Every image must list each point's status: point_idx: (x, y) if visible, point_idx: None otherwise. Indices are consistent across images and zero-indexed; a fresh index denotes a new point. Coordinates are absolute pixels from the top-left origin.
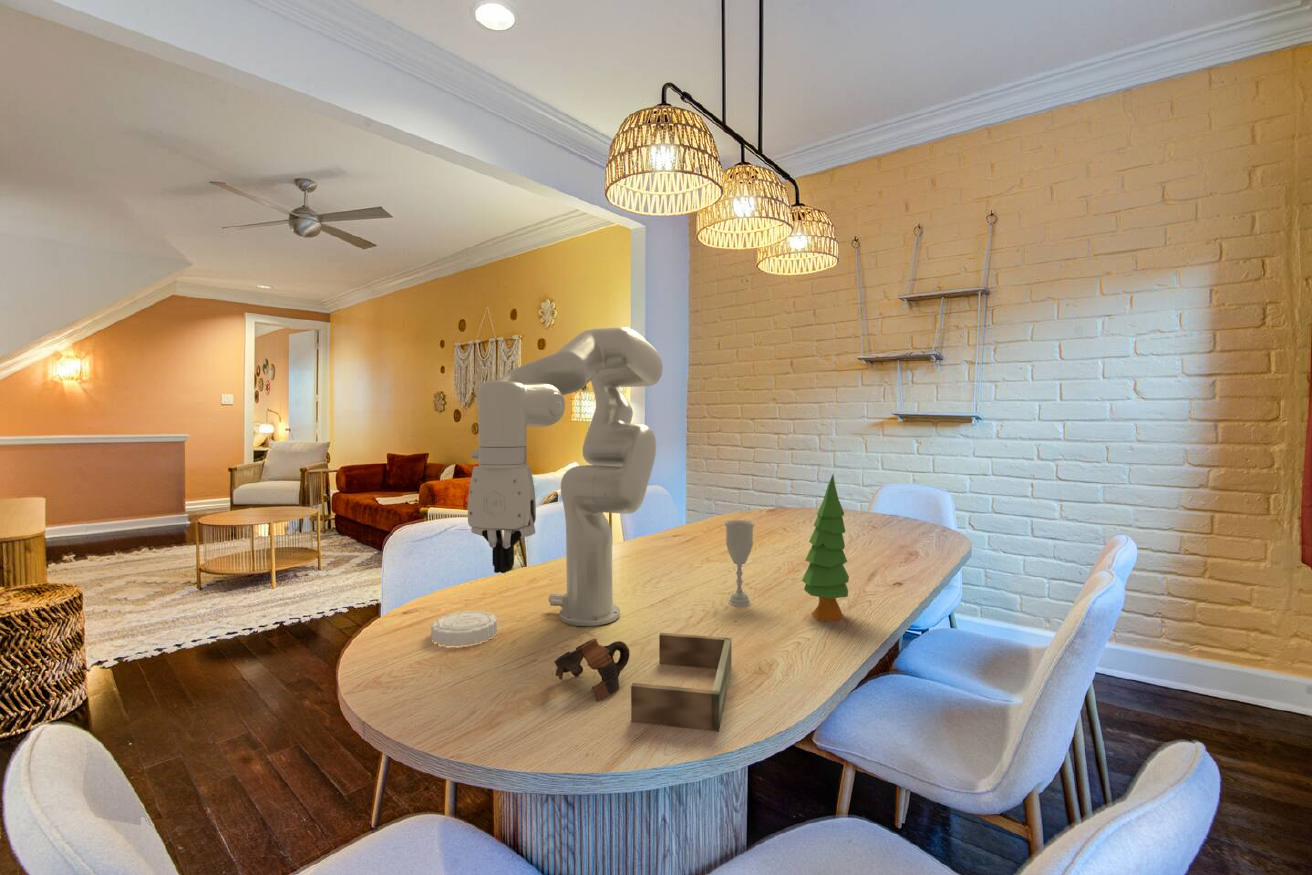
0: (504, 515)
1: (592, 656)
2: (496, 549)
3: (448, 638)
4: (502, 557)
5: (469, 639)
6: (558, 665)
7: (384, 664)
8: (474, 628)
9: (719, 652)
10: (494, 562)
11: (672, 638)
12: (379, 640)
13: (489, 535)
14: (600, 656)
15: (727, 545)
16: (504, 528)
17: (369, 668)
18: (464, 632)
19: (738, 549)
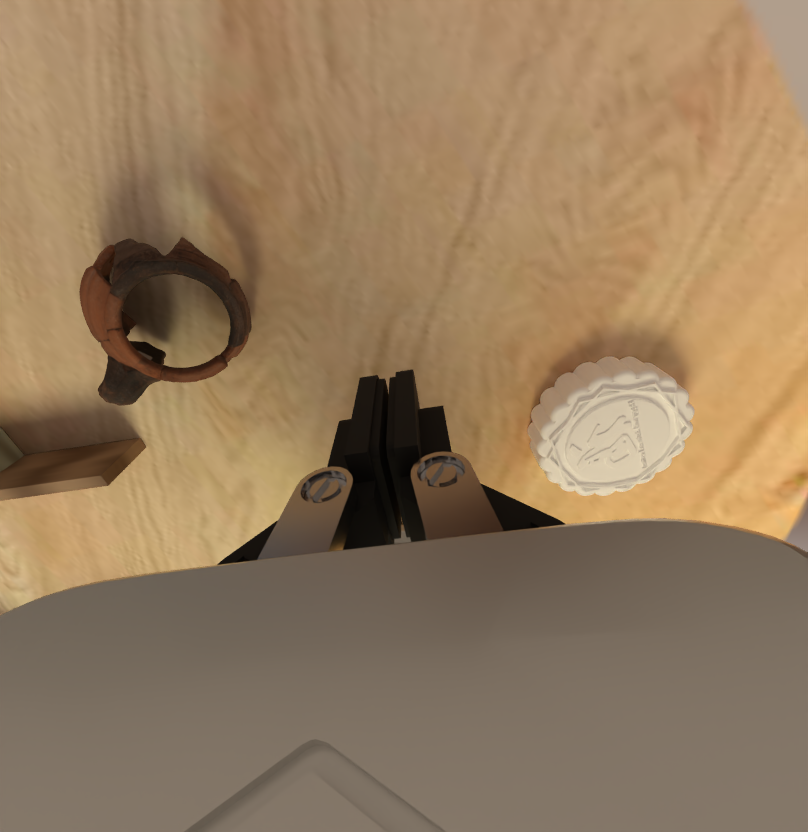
0: (88, 815)
1: (91, 292)
2: (397, 442)
3: (614, 366)
4: (355, 418)
5: (563, 386)
6: (193, 263)
7: (725, 219)
8: (567, 413)
9: (5, 474)
10: (411, 392)
11: (77, 475)
12: (804, 335)
13: (480, 521)
14: (84, 307)
15: None
16: (207, 566)
17: (758, 181)
18: (581, 389)
19: None
